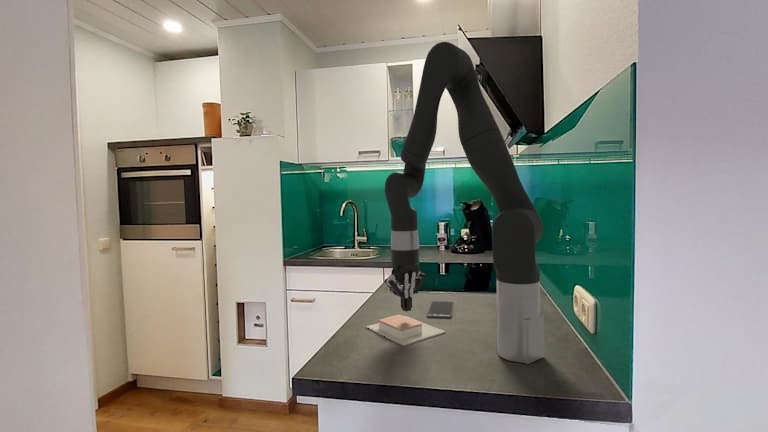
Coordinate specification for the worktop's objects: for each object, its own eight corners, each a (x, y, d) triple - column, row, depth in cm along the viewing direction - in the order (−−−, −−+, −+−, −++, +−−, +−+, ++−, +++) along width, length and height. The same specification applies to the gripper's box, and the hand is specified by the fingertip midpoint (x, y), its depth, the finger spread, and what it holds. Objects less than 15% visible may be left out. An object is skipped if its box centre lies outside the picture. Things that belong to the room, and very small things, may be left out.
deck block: (422, 323, 105) (401, 329, 101) (422, 332, 105) (401, 339, 101) (398, 314, 113) (378, 319, 109) (399, 323, 113) (378, 328, 109)
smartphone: (453, 301, 133) (451, 315, 117) (453, 304, 133) (451, 319, 117) (431, 301, 134) (426, 314, 119) (431, 304, 135) (426, 318, 119)
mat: (445, 332, 106) (445, 331, 106) (403, 346, 98) (403, 344, 98) (405, 317, 120) (405, 315, 120) (366, 327, 112) (366, 326, 112)
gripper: (393, 251, 100) (395, 319, 101) (432, 245, 108) (434, 308, 109) (376, 248, 106) (378, 312, 108) (415, 243, 114) (416, 302, 115)
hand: (406, 310), depth 108 cm, fingers closed
